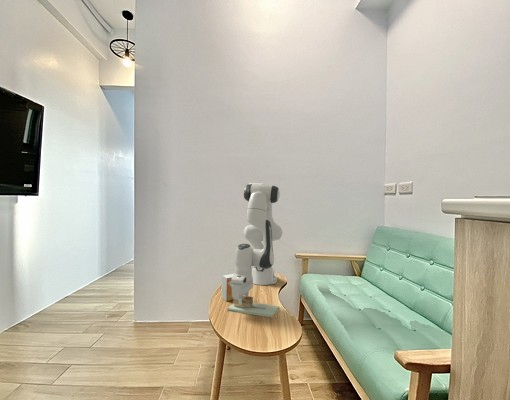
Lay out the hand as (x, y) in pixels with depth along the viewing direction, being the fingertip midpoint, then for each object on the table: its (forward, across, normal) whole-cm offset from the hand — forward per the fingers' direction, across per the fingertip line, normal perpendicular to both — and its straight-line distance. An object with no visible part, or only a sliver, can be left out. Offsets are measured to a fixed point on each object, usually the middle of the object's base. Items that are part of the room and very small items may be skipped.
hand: (243, 302), depth 154 cm
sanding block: (+2, 0, 0) cm, 2 cm away
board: (+3, 0, +6) cm, 7 cm away
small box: (+3, -10, -12) cm, 16 cm away
